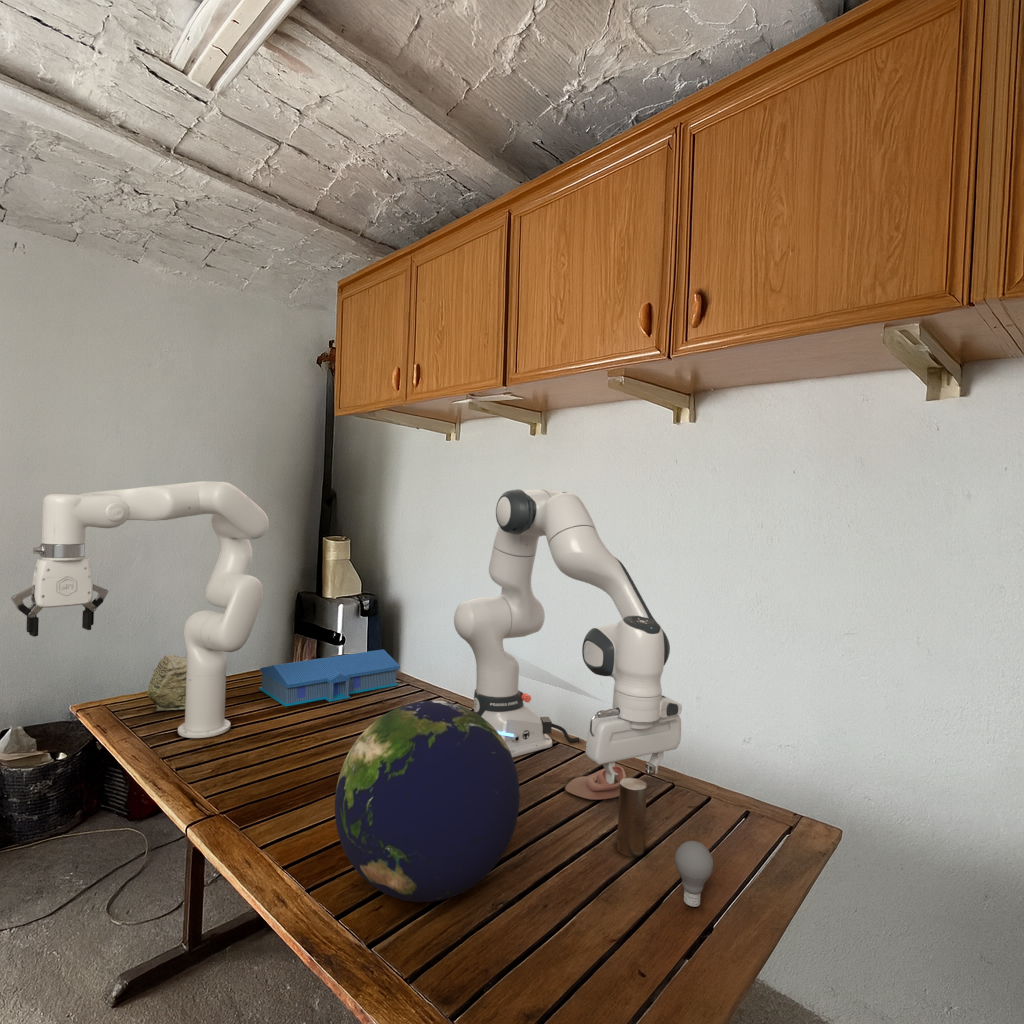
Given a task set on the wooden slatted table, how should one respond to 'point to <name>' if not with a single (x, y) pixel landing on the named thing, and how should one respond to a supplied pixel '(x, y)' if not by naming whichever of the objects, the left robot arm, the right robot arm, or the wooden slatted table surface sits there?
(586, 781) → the rubber human ear
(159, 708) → the fossil
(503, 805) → the globe
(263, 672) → the model building
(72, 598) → the left robot arm
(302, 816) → the wooden slatted table surface
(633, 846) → the tin
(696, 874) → the light bulb
